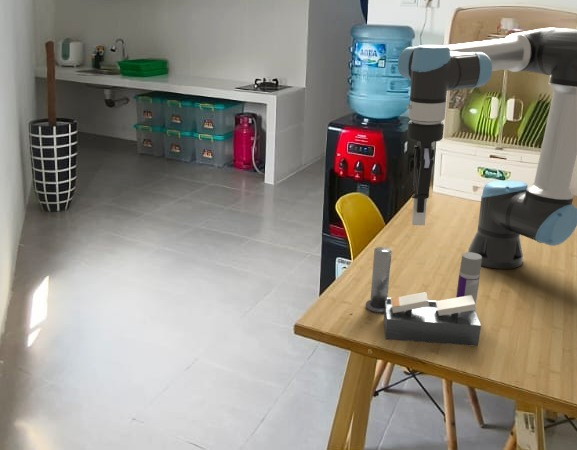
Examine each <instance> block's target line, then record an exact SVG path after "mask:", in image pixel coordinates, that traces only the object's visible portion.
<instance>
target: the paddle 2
mask: <svg viewBox="0 0 577 450" xmlns="http://www.w3.org/2000/svg"><path fill="white" fill-rule="evenodd" d="M435 301H436V307H437V310H438V314H439V316H441V315H447V314H453V313H459V312H465V311H471V310H475V311H476V310H477V307H476V306H475V302H474V300H473V297H472V295H469V296H463V297H457V298H456V297H451V298H447V299H446V298H445V299H440V300H435Z"/></svg>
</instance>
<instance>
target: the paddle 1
mask: <svg viewBox="0 0 577 450" xmlns="http://www.w3.org/2000/svg"><path fill="white" fill-rule="evenodd" d="M427 294H428V293H427V291H424V292H418V293H412V294H407V295H403V296H402V295H401V296H396V297H390V298H391V305H392V311H393V313H396V312H401V311H407V310H412V309H417V308H422V307H428V306H429V302H428V300H429V298H428V295H427Z"/></svg>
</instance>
